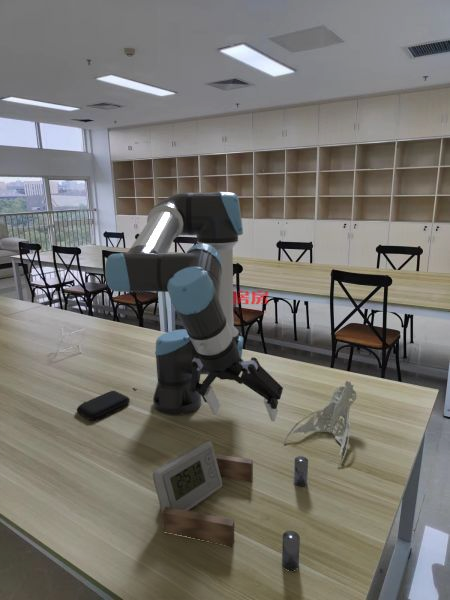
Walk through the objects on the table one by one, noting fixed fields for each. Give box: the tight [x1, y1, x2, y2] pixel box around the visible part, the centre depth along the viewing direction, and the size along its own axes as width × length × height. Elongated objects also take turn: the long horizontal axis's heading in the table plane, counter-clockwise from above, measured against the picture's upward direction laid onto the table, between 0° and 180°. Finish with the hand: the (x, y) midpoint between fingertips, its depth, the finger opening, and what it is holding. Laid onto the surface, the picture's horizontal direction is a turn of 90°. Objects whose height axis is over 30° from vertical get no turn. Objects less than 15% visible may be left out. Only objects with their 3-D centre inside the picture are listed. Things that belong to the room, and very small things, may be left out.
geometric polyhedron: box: [56, 327, 87, 354], centre depth 175 cm, size 12×11×9 cm
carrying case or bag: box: [76, 390, 131, 422], centre depth 129 cm, size 11×3×15 cm
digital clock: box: [152, 440, 223, 515], centre depth 89 cm, size 16×9×11 cm, turn 123°
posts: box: [281, 455, 309, 572], centre depth 84 cm, size 3×25×6 cm, turn 165°
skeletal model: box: [283, 380, 357, 468], centre depth 113 cm, size 16×9×25 cm
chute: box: [162, 453, 254, 548], centre depth 89 cm, size 14×20×5 cm
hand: (244, 412), depth 90 cm, fingers open, 13 cm apart
